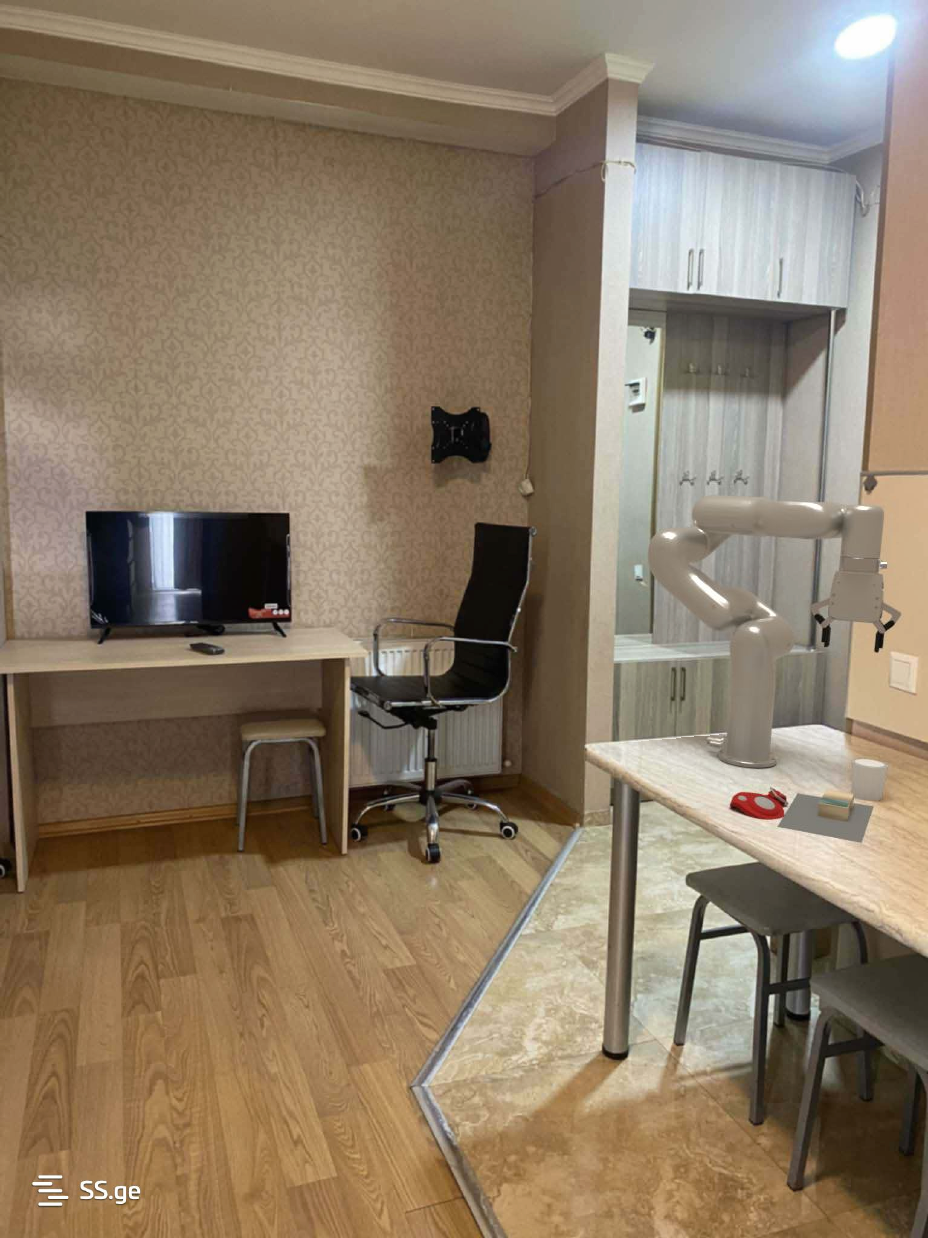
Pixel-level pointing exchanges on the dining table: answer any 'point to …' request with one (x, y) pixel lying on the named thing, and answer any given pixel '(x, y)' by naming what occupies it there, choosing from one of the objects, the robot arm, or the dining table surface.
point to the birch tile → (836, 804)
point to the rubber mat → (825, 819)
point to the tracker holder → (760, 804)
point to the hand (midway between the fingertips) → (851, 649)
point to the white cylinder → (868, 778)
